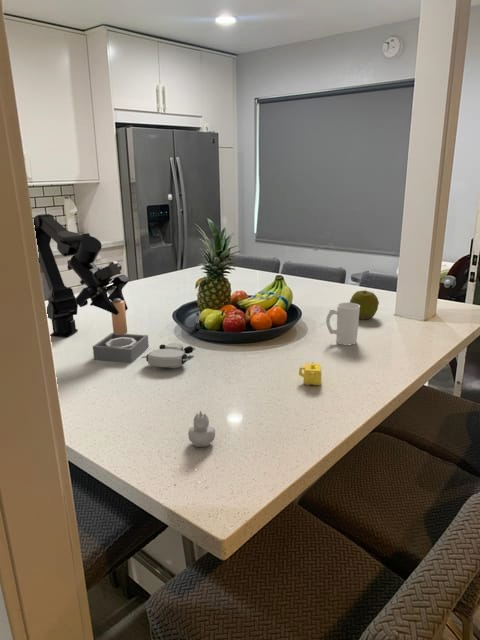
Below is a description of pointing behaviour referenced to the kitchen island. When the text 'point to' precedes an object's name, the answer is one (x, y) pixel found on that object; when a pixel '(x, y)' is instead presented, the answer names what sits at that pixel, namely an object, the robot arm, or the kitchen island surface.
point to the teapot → (311, 373)
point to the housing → (121, 347)
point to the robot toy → (169, 355)
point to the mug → (345, 322)
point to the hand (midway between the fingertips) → (122, 311)
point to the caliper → (197, 317)
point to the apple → (365, 303)
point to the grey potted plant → (201, 431)
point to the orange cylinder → (119, 317)
